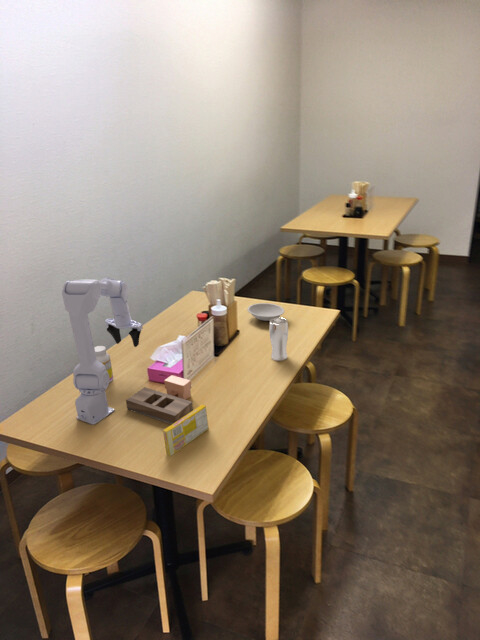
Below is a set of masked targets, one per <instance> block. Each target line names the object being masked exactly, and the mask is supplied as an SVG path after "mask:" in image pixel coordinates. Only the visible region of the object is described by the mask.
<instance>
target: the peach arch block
mask: <svg viewBox="0 0 480 640" xmlns="http://www.w3.org/2000/svg"><path fill="white" fill-rule="evenodd" d="M164 388H165V390H166V394H169V395H172V396H175V397H176V395H178V398H182V399H185V400H188V398H190V397H191V396H192V393H191V389H192V381H191V379H187V378H183V377H180V376H177V375H173V374H171V375H170V376H168V377H167V378H165V379H164Z"/></svg>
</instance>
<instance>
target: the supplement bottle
mask: <svg viewBox="0 0 480 640" xmlns="http://www.w3.org/2000/svg"><path fill="white" fill-rule="evenodd" d="M94 349H95V353H96V358H97V360H98V361H99V362H101V363H102V364H104V365H105V368H106V371H107V372H108V374H109V383H111V382H113V380H114V374H113V368H112V360H111V355H110V353H108V352H107V347H106V346H105V345H96V346H94Z"/></svg>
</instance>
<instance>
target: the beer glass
mask: <svg viewBox="0 0 480 640" xmlns="http://www.w3.org/2000/svg"><path fill="white" fill-rule="evenodd" d="M268 330H269V331H268V332H269V339H270V343H271V344H270V345H271V350H272V351H271V357H270V358H271V359H272V360H274V361H275V362H281V361H285V360H287V359H288V352H287V345H288V338H289V324H288V319H286V318H284V317H278V318H273V319H271V320H270V321H269V329H268Z"/></svg>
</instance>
